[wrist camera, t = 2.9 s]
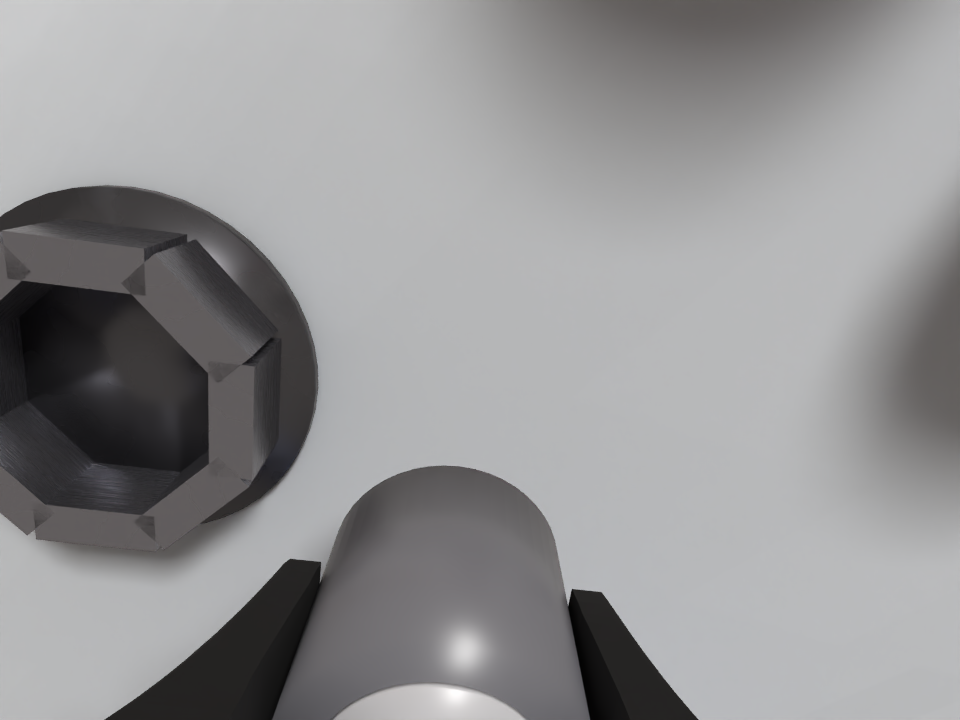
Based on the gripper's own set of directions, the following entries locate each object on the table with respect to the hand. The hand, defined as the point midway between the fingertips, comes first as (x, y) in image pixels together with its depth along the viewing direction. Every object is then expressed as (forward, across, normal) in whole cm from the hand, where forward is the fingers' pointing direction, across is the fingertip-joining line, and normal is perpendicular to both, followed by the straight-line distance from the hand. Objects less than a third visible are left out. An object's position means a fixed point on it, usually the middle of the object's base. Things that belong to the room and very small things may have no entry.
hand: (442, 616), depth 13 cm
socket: (+8, +10, -1) cm, 13 cm away
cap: (+2, 0, 0) cm, 2 cm away
